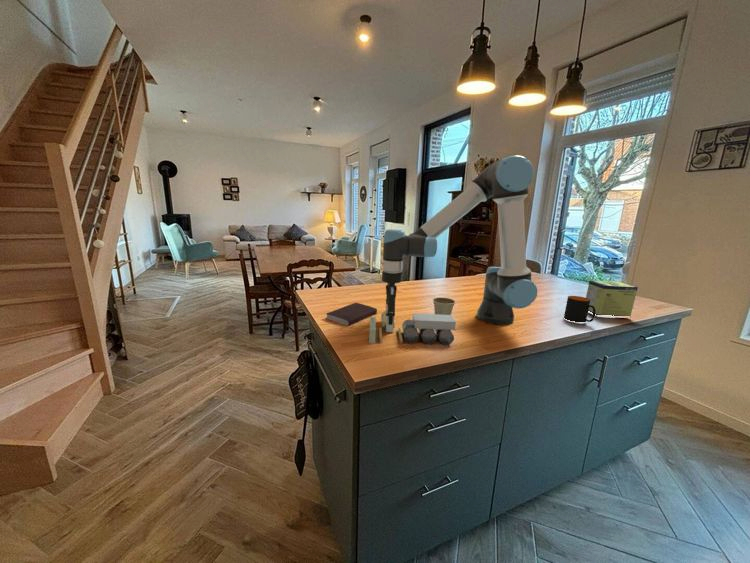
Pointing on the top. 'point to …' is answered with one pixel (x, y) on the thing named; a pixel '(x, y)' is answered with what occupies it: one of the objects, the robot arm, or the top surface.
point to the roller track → (422, 334)
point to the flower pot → (443, 305)
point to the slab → (433, 321)
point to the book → (351, 314)
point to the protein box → (611, 297)
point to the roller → (384, 320)
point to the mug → (578, 309)
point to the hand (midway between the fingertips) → (389, 325)
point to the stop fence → (372, 329)
